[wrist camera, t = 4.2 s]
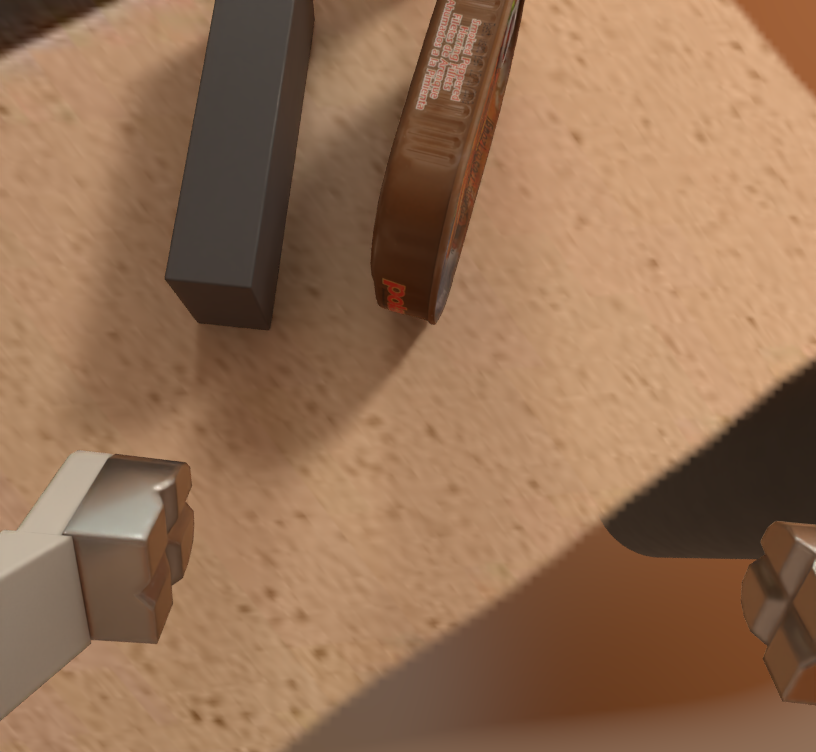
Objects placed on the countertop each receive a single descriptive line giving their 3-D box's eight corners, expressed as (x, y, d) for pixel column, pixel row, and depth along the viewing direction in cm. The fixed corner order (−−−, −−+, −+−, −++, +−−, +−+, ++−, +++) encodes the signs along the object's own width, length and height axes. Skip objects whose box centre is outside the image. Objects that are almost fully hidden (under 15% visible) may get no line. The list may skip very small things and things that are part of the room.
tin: (433, 352, 30) (455, 278, 22) (359, 331, 30) (354, 250, 22) (517, 48, 34) (564, -112, 26) (451, 30, 34) (477, -136, 26)
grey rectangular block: (315, 18, 34) (305, -72, 29) (270, 331, 30) (251, 288, 25) (249, 11, 34) (229, -80, 29) (196, 323, 30) (163, 279, 25)
